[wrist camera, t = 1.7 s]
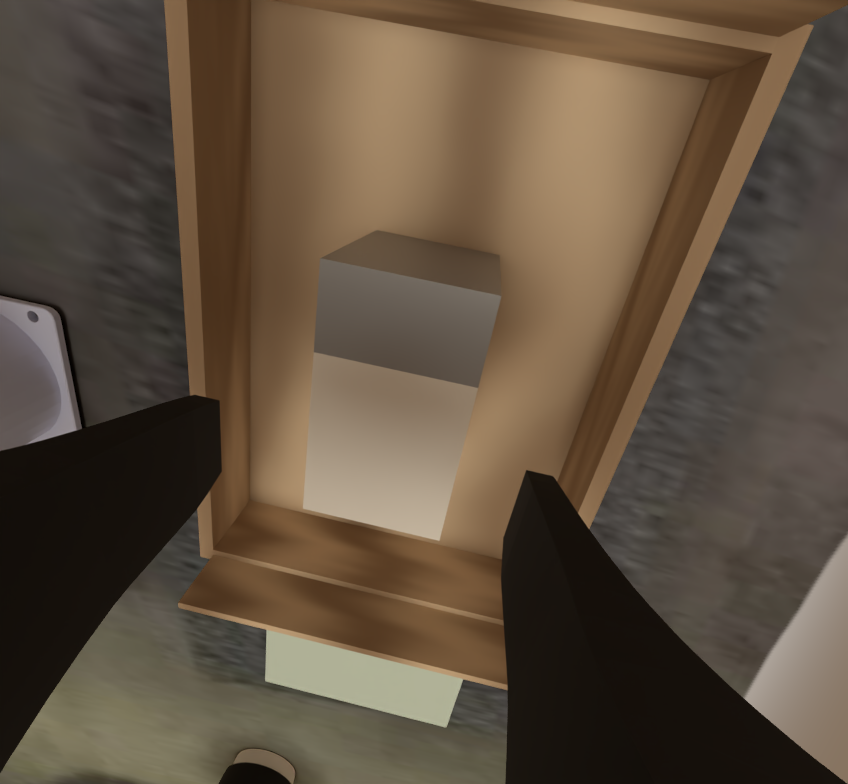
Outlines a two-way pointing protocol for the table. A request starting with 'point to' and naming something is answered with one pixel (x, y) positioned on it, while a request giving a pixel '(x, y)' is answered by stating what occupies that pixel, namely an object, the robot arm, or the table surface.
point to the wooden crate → (459, 226)
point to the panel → (360, 679)
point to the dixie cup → (259, 769)
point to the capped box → (396, 377)
